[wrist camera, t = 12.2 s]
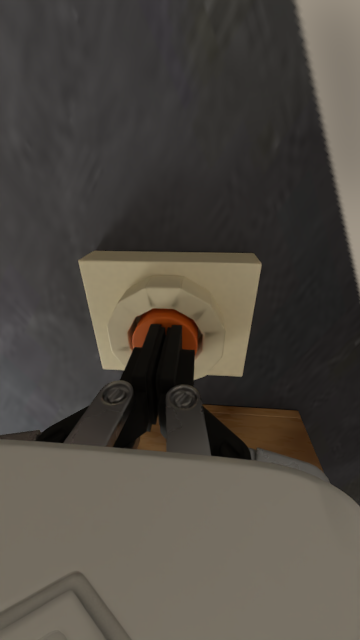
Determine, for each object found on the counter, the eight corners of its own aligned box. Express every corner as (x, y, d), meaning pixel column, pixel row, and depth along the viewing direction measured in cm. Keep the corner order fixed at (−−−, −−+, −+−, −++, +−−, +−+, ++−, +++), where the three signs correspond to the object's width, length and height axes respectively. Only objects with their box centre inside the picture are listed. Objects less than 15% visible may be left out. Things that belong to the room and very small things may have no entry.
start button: (141, 351, 15) (135, 369, 14) (136, 301, 13) (127, 316, 12) (197, 353, 15) (196, 372, 13) (199, 303, 13) (198, 318, 12)
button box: (112, 350, 19) (92, 388, 15) (93, 250, 15) (60, 270, 11) (238, 357, 18) (246, 397, 15) (254, 252, 14) (271, 275, 11)
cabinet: (145, 472, 28) (121, 594, 20) (134, 399, 22) (92, 534, 13) (270, 483, 27) (301, 617, 18) (298, 410, 20) (362, 563, 12)
